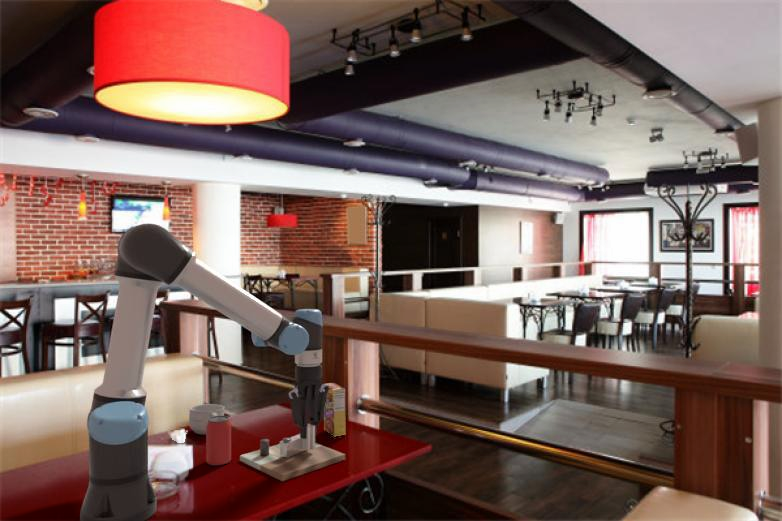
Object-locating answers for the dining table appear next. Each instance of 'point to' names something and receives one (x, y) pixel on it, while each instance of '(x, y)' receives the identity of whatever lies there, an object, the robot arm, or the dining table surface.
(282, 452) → the bar
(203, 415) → the teacup
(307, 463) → the board
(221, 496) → the dining table surface
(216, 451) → the beer can
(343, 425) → the candy box
